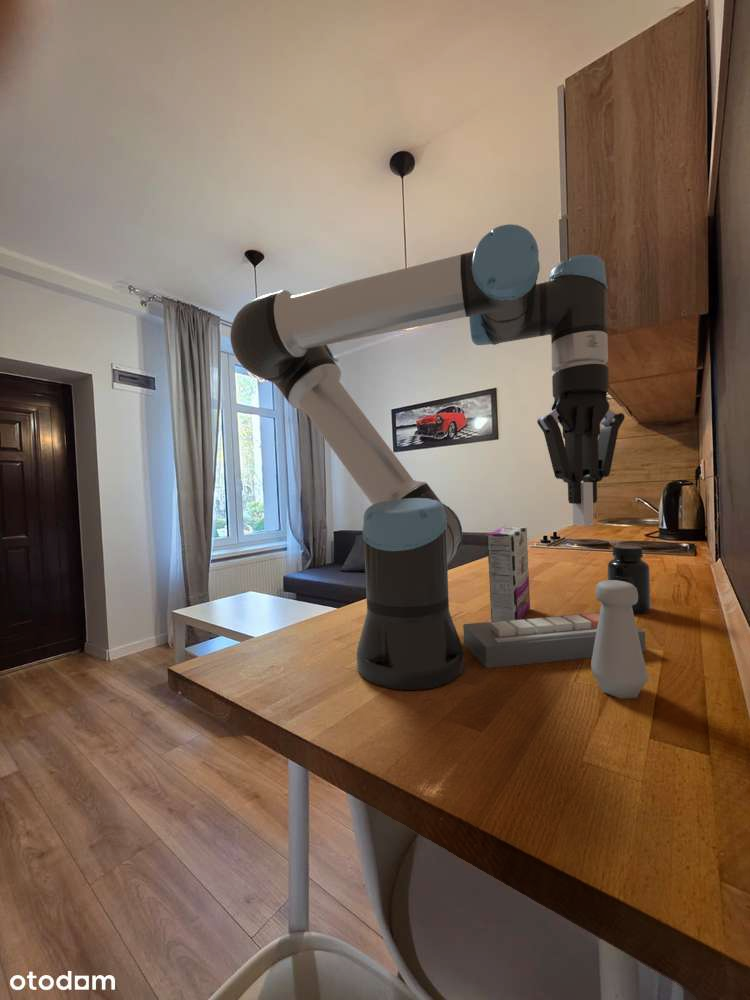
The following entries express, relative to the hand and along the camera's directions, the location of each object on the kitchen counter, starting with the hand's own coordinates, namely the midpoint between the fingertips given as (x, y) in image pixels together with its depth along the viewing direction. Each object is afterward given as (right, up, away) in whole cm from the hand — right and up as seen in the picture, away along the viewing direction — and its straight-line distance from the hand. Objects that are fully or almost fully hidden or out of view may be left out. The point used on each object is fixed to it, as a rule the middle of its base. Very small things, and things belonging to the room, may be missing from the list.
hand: (583, 524), depth 60 cm
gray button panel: (-5, -19, 0) cm, 19 cm away
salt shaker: (-3, -19, -13) cm, 23 cm away
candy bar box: (-6, -18, +15) cm, 24 cm away
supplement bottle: (+17, -17, +16) cm, 29 cm away
